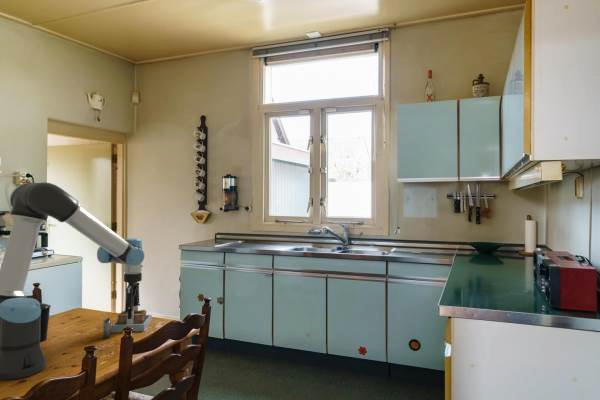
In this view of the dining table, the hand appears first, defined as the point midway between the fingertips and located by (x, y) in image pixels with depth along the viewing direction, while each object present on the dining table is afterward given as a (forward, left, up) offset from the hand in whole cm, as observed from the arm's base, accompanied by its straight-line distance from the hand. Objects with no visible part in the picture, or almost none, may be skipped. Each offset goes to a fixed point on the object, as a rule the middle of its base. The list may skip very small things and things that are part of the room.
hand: (132, 322), depth 190 cm
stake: (-15, +6, -2) cm, 16 cm away
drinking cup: (-15, +32, -2) cm, 36 cm away
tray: (0, 0, -2) cm, 2 cm away
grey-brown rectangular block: (0, 0, 0) cm, 0 cm away
